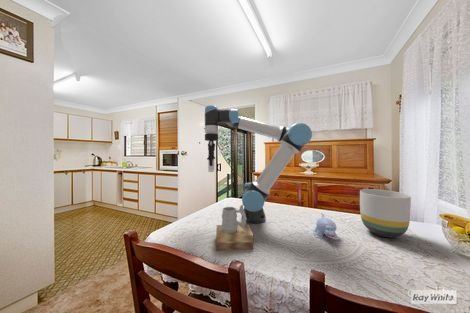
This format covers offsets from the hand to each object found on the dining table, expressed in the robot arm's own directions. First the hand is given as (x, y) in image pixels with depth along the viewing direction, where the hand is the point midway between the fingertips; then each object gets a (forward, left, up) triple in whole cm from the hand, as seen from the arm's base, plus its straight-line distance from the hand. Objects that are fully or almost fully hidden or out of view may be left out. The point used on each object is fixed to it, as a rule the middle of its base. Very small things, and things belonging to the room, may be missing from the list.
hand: (211, 170), depth 99 cm
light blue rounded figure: (-58, +19, -32) cm, 68 cm away
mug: (-11, +20, -26) cm, 35 cm away
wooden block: (-11, +20, -32) cm, 39 cm away
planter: (-88, +19, -32) cm, 96 cm away
